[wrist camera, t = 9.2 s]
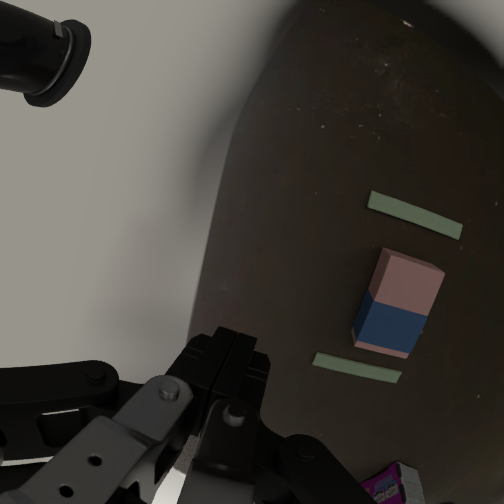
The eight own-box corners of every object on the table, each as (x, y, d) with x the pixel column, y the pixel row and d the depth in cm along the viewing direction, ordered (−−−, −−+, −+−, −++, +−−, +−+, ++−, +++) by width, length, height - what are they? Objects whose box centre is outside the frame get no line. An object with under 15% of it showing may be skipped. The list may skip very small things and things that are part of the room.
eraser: (350, 330, 22) (353, 346, 20) (381, 246, 20) (390, 254, 18) (399, 343, 22) (407, 359, 19) (433, 264, 20) (446, 273, 17)
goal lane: (312, 362, 23) (311, 364, 23) (371, 190, 20) (371, 190, 19) (394, 381, 22) (395, 383, 22) (461, 224, 19) (463, 225, 18)
